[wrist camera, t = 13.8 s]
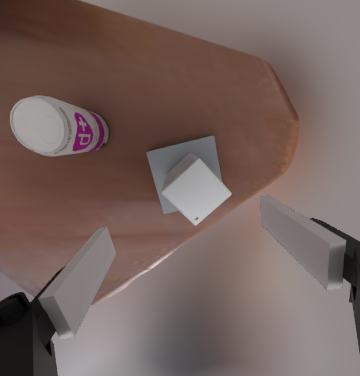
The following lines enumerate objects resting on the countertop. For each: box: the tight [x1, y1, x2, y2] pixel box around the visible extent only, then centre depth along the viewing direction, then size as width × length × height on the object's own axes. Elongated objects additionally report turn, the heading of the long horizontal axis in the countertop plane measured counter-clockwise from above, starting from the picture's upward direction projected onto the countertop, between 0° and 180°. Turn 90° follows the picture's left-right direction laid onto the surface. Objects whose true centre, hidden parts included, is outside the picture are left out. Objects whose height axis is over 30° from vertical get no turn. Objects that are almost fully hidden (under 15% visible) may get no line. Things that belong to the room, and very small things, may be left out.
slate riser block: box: [146, 135, 222, 214], centre depth 38 cm, size 14×14×5 cm
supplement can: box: [10, 95, 109, 157], centre depth 30 cm, size 8×8×15 cm
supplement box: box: [161, 152, 232, 226], centre depth 30 cm, size 7×7×13 cm
